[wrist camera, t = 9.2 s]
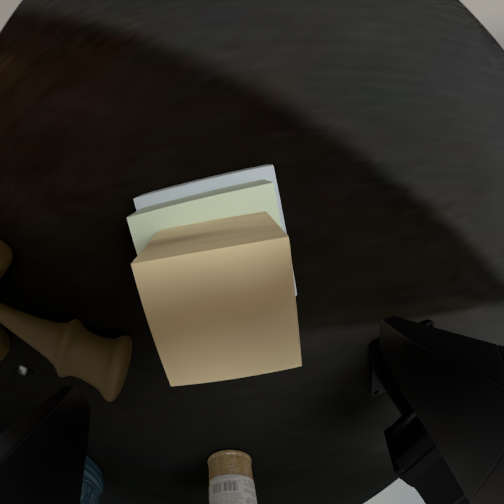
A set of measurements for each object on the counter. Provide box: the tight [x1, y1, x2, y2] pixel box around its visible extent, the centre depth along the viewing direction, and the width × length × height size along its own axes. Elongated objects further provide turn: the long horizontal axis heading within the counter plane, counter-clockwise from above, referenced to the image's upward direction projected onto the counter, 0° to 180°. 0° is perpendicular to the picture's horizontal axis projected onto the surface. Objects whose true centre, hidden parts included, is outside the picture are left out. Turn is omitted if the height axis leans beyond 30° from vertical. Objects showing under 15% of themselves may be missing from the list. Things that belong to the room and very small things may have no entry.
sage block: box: [127, 179, 282, 256], centre depth 16 cm, size 7×7×3 cm
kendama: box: [0, 239, 132, 402], centre depth 17 cm, size 6×10×20 cm
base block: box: [133, 165, 297, 296], centre depth 19 cm, size 8×8×3 cm
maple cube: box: [131, 211, 302, 386], centre depth 12 cm, size 5×5×5 cm
